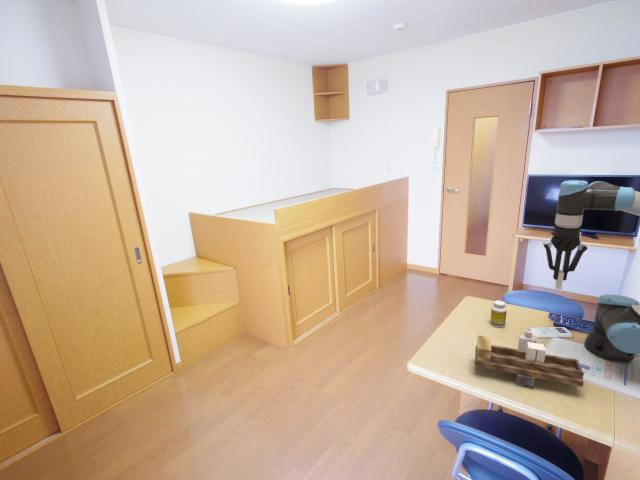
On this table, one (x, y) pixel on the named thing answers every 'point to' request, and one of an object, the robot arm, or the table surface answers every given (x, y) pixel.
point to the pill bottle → (498, 314)
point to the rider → (535, 352)
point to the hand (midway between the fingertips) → (558, 287)
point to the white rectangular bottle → (525, 339)
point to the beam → (527, 365)
